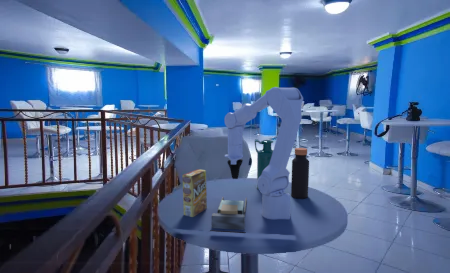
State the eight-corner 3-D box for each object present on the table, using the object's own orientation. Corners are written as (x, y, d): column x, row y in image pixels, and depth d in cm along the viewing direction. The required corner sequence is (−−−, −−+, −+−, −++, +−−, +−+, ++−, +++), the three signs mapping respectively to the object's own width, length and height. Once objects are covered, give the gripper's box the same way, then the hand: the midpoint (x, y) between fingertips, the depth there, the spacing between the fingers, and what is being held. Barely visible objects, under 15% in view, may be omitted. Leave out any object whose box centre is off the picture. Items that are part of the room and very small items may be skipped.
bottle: (309, 199, 116) (311, 150, 113) (292, 199, 116) (294, 150, 113) (305, 193, 123) (307, 147, 120) (289, 193, 123) (290, 147, 120)
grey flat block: (243, 208, 103) (243, 200, 103) (242, 219, 94) (242, 210, 94) (221, 207, 104) (221, 200, 104) (218, 218, 95) (218, 209, 95)
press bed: (248, 203, 111) (249, 191, 110) (245, 233, 87) (245, 217, 87) (220, 202, 112) (220, 190, 112) (210, 231, 89) (209, 215, 88)
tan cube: (237, 219, 95) (237, 205, 94) (236, 226, 90) (236, 211, 89) (222, 218, 95) (222, 204, 94) (220, 225, 90) (220, 210, 90)
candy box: (193, 220, 96) (192, 176, 94) (182, 217, 99) (181, 174, 96) (207, 211, 104) (206, 170, 102) (197, 209, 106) (197, 168, 104)
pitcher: (275, 185, 134) (276, 138, 130) (276, 191, 125) (277, 141, 122) (254, 185, 134) (254, 138, 131) (254, 190, 126) (254, 141, 123)
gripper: (227, 140, 118) (227, 173, 120) (222, 147, 104) (222, 183, 106) (244, 141, 117) (244, 173, 119) (241, 147, 103) (241, 184, 105)
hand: (235, 178), depth 112 cm, fingers closed
